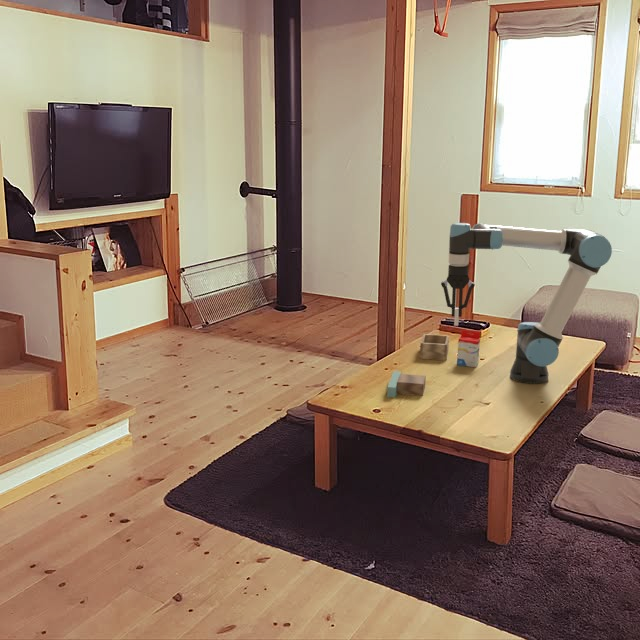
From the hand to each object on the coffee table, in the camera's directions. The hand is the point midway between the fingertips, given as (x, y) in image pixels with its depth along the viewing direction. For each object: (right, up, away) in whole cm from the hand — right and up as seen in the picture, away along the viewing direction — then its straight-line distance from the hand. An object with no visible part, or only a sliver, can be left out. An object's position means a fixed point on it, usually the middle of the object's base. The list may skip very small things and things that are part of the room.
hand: (456, 324), depth 302 cm
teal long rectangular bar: (-24, -25, +4) cm, 35 cm away
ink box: (+11, -18, +34) cm, 40 cm away
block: (-17, -26, +2) cm, 31 cm away
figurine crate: (-1, -13, +49) cm, 50 cm away
